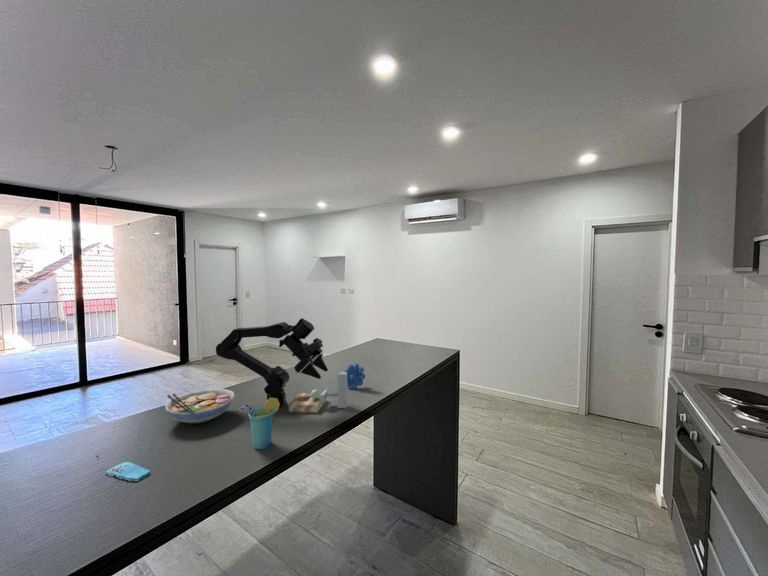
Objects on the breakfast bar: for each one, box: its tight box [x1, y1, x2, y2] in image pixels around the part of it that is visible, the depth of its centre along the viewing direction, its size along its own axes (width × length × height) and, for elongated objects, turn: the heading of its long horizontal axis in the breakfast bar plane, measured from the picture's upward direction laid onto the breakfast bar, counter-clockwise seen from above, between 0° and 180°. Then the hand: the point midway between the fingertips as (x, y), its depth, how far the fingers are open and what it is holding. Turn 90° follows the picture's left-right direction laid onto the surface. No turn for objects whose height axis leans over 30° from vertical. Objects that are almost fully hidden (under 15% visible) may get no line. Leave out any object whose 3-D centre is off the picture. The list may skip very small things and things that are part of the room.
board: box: [287, 392, 327, 414], centre depth 132 cm, size 12×12×3 cm
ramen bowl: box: [164, 388, 236, 424], centre depth 121 cm, size 25×23×8 cm
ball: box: [310, 388, 321, 399], centre depth 131 cm, size 4×4×4 cm
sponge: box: [105, 460, 152, 480], centre depth 88 cm, size 2×12×6 cm
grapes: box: [343, 363, 366, 390], centre depth 152 cm, size 12×7×12 cm, turn 66°
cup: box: [236, 398, 280, 450], centre depth 101 cm, size 14×8×15 cm, turn 146°
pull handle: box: [320, 371, 349, 409], centre depth 130 cm, size 10×6×14 cm, turn 84°
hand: (323, 374), depth 130 cm, fingers open, 9 cm apart
